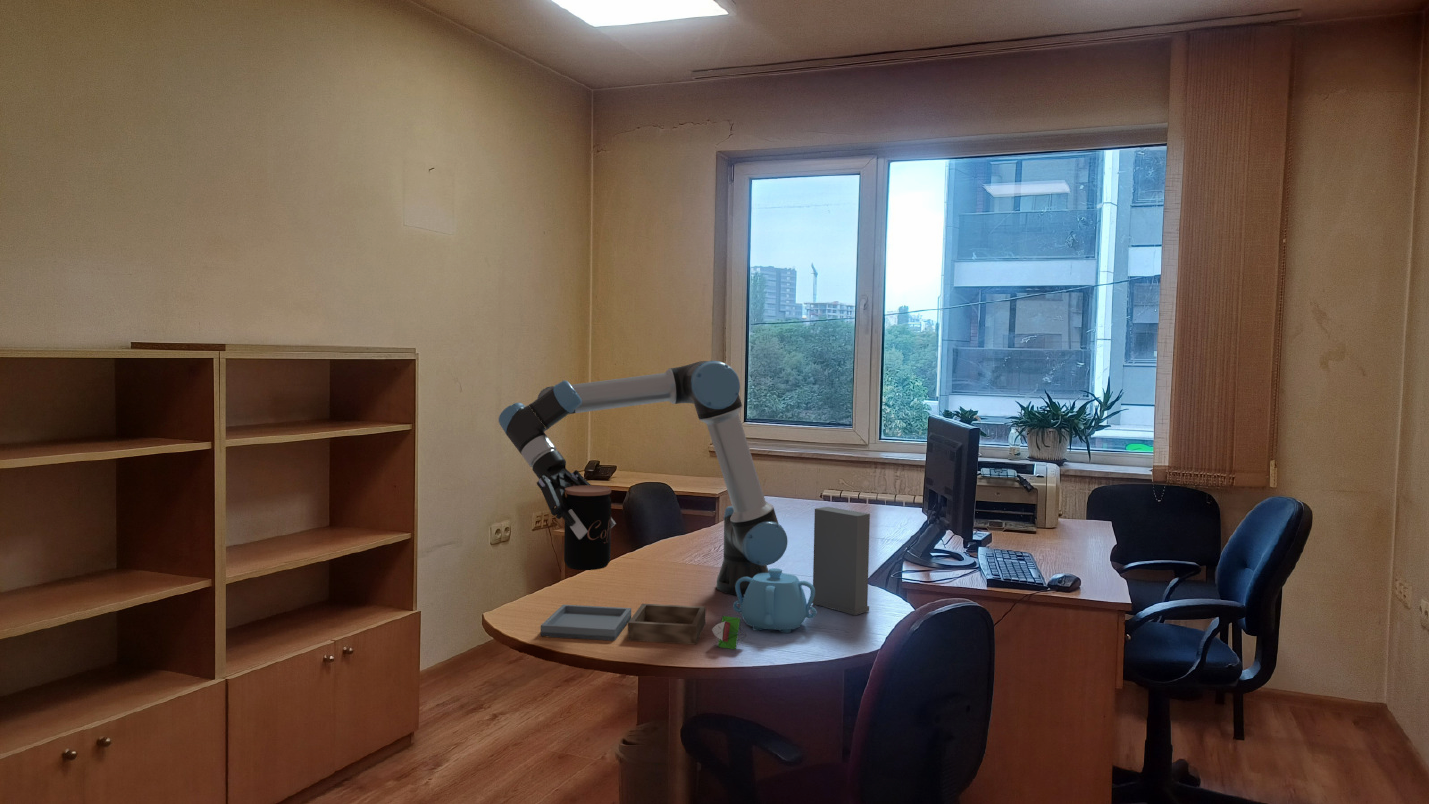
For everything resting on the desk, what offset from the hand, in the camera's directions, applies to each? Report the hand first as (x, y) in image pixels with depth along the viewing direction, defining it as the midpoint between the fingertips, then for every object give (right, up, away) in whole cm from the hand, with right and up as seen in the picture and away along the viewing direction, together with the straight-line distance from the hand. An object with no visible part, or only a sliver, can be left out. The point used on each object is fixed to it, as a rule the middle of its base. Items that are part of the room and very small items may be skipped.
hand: (598, 531), depth 199 cm
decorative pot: (+41, -24, +6) cm, 48 cm away
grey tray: (-3, -23, +2) cm, 23 cm away
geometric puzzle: (+30, -24, -10) cm, 40 cm away
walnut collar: (+16, -23, 0) cm, 28 cm away
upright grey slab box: (+59, -23, +22) cm, 67 cm away
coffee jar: (-3, -8, +2) cm, 9 cm away
